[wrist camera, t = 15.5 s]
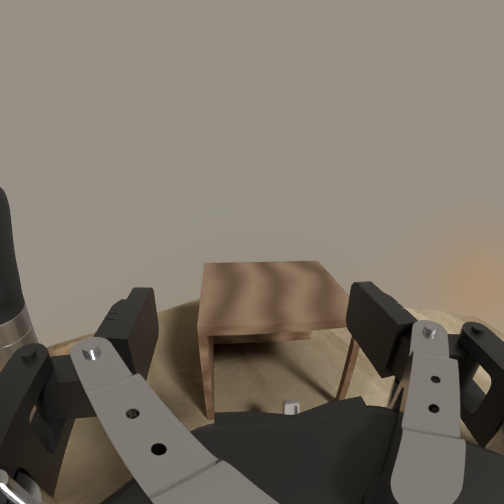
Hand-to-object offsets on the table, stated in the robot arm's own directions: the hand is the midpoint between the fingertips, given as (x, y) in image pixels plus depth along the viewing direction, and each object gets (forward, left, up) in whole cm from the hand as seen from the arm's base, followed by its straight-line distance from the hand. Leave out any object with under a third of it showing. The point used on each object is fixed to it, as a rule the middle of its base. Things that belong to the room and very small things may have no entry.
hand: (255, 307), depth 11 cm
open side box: (+6, +27, -28) cm, 39 cm away
